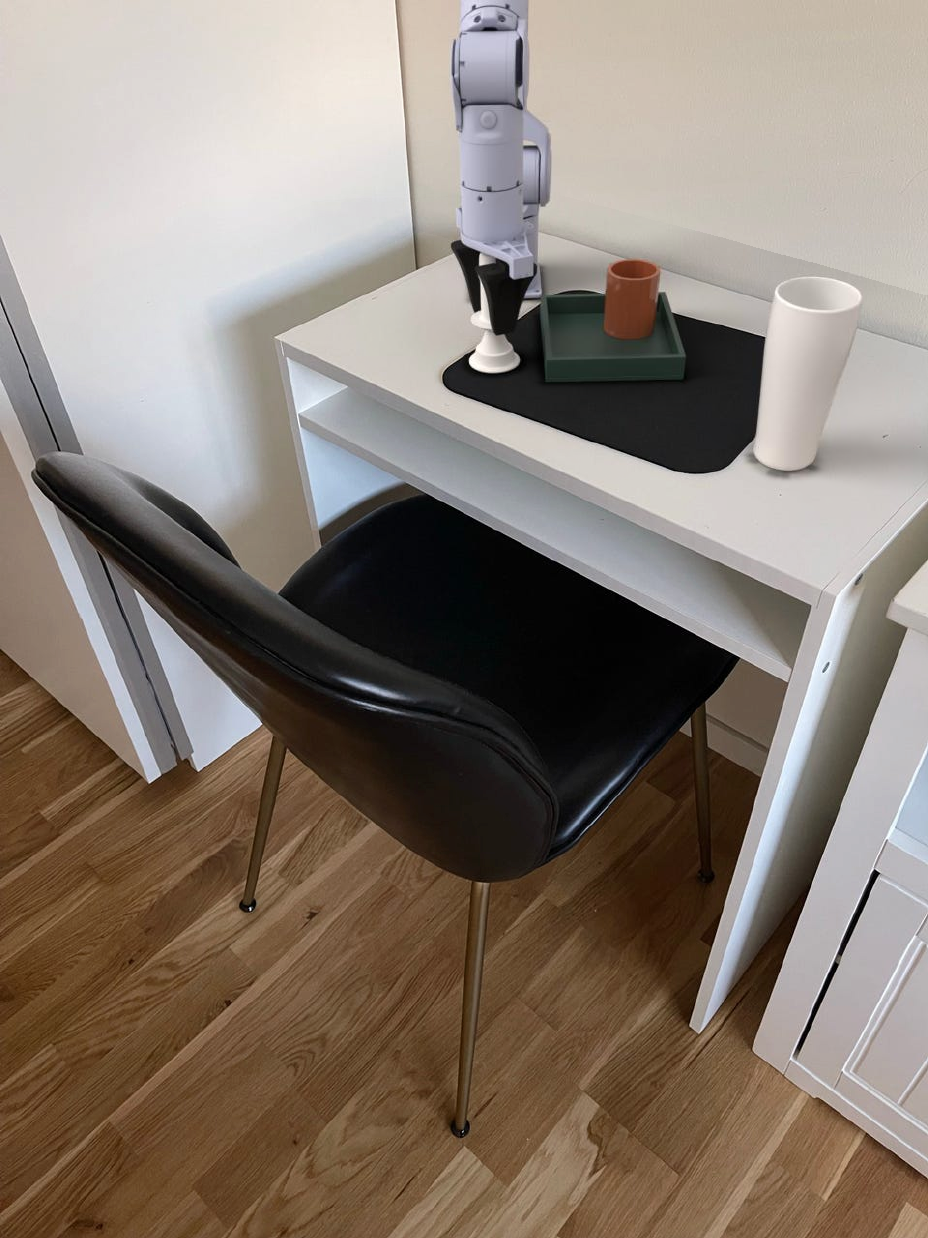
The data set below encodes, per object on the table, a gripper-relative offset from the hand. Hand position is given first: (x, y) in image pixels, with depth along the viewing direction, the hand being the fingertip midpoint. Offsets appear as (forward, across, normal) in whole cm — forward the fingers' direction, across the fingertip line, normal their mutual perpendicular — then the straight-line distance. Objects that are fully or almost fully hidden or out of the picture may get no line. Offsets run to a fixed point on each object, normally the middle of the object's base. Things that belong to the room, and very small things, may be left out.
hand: (494, 322), depth 97 cm
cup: (+4, 0, -16) cm, 16 cm away
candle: (+5, 0, 0) cm, 5 cm away
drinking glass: (+5, -27, -16) cm, 32 cm away
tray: (+4, -2, -12) cm, 13 cm away
